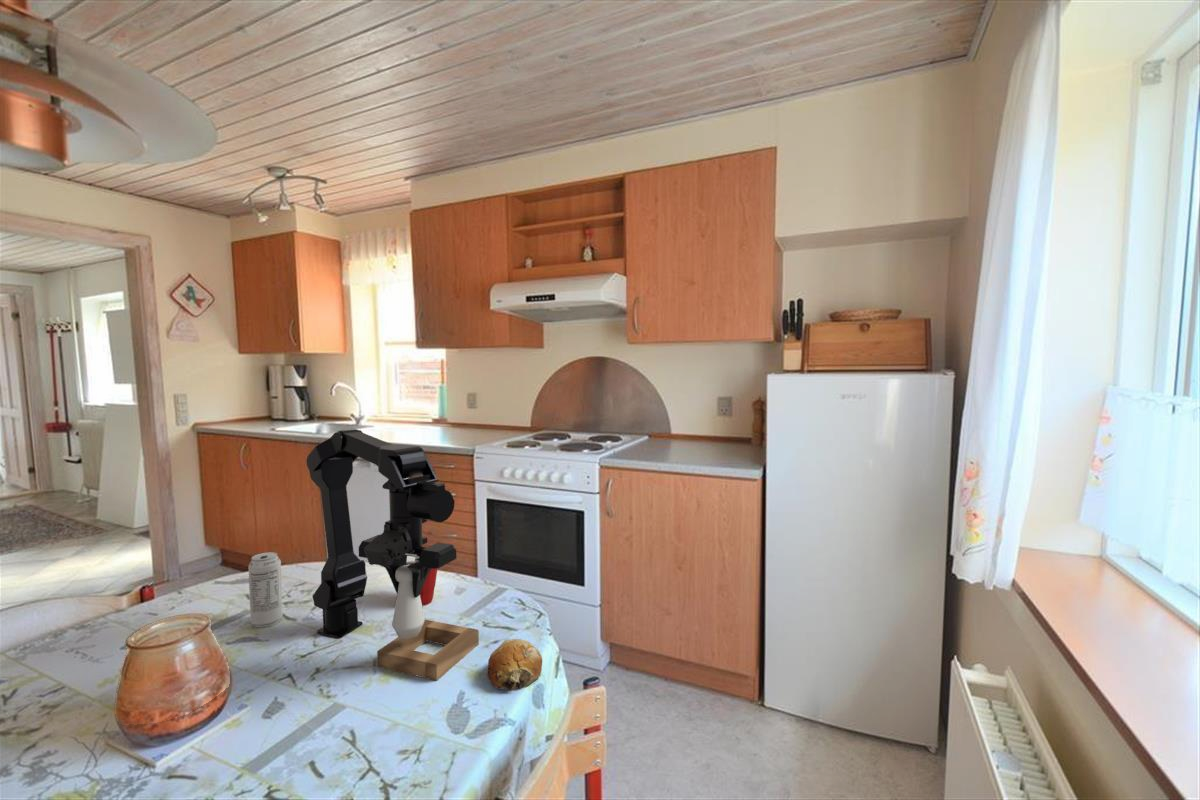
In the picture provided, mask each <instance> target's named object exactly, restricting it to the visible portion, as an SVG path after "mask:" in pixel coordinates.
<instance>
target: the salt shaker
mask: <svg viewBox="0 0 1200 800" xmlns="http://www.w3.org/2000/svg"><path fill="white" fill-rule="evenodd" d="M409 565H411V564H408V565H403V566H400V567H399V568H398V569H397V570H396V573H395V578H396V580H397V581H398V582H399V586H398V593H396V594H397V595H396V600H395V606H394V612H393V617H392V622H391V623H392V624H391V626H392V629H393V630H394V632H395V634H396V635H397V637H399V638H402V639H409V638H413V637H416V636H418V634H419V633H420V631H421V629H422V626H423V624H424V620H426V619H425V618H426V617H425V613H424V608H423V606H422V603H421V598H420V595H419V596H418V597H414V594H413V580H412V571H411V570H410V569H409V568H408V567H407V566H409Z"/></svg>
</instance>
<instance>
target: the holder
mask: <svg viewBox="0 0 1200 800" xmlns="http://www.w3.org/2000/svg"><path fill="white" fill-rule="evenodd" d="M479 634H480V633H479V629H477V628H471V627H467V626H466V627H465V626H461V625H457V624H451V623H445V622H440V621H434V620H429V619H425V620H424V624H423V626H422V629H421V631H420V633H419V634H418V636H416V637H413V638H409V639H402V638H399V637H398V636H397V637H396V638H394V639H393V640H392V641H390V642H389V643H387V644H386V645H384V646H383V647H381V648H379V649H378V650H377V651H376V653H377V656H376V657H377V659H376V660H377V661H376V662H377V668H382V669H386V670H390V671H393V672H398V673H403V674H408V675H411V674H412V676H415V675H418V676H417V677H419V676H421V677H420V678H423V677H424V679H427V678H429V679H428V680H432V679H433V680H432V681H436V680H437V681H439V680H440V679H441V678H442V677H443V676H444V675H445V674H447V672H449V671H450V670H451V669H452V668H454V667H455V666H456V665H457V664H458V663H459V662H461V660H462V659H464V658H465V657H466V656H467V655H468V654H469V653H471V651H473V650H474V649H475V648H476V647H477V646H478V645H479V643H480V641H479V640H480V639H479V638H480V637H479ZM426 642H430V643H431V642H432V643H434V642H435V643H436V644H440V645H444V646H443V647H442V648H441V649H440V650H438V651H437V652H435V653H434V654H432V653H427V652H424V651H423V652H422V651H419V650H416V649H418V648H419V647H421V646H423V644H424V643H426ZM439 678H440V679H439Z"/></svg>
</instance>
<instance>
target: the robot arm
mask: <svg viewBox="0 0 1200 800" xmlns="http://www.w3.org/2000/svg"><path fill="white" fill-rule="evenodd" d="M358 458H360V459H363V460H365V461H366V462H368V463H371V464H373V465H375V466H376V467H377V469H378V472H379V474H381V475H382V476H383V477H385V478H386V479H387V481H385V483H384V482H383V483H384V484H382V489H384V490H388V493H389V494H388V495H389V497H388V499H389V520H386V521H384V524H383V532H382V533H380V534H377V535H375V536H372V537H369V538H366V539H364V540H362V541H361V542H360V544H359V546H358V556H357V554H355V552H354V544H353V535H352V527H351V526H352V525H351V517H350V516H351V515H350V509H349V508H350V507H349V498H348V490H347V489H348V488H347V485H348V483H349V481H350V479H351V477H352V475H353V472H354V462H355V461H356V460H357V459H358ZM306 467H307V468H308V471H309V477H310V479H311V481H312V482H313V483H314V484H315V485H316V487H318V488H319V490H320V495H321V503H322V504H321V506H322V513H323V524H324V531H325V533H324V534H325V541H326V548H327V559H326V561H325V563H324V566H323V567H322V570H321V571H320V574H321V575H320V584H319V586H318V588H317V589H316V590H315V592H314V593H313V594H312V601H313V605H314V606H315V607H316V608H319V609H320V610H322V624H323V625H322V626H323V627H321V628H319V629H317V631H316V632H317V634H319V635H324V636H327V637H334V638H338V639H340V638H342V637H344V636H345V635H347V634H349V633H351V632H352V631H354V630H357V628H359V627H361V626H362V625H363V624H364V623H363V621H359V618H358V617H359V615H358V613H359V612H358V610H359V609H358V607H357V599H359V598H363V597H364V596H365V591H366V586H367V581H368V576H367V570H366V562H365V560H364V559H362V560H361V559H360V558H365V559H367V562H368V564H369V565H371V566H374V565H376V566H380V567H382V568H385V570H386V572H387V574H388V576H389V578H390V581H391V583H392V586H393V588H394V591H395V593H396V594H397V593H398V586H399V582H398V581H397V580H396V578H395V573H396V570H397V569H398V568H399V567H400V566H403V565H406V562H407V556H412V557H415V563H413V564H411V565H409V566H407V567H408V568H409V569H410V570H411V571H412V580H413V594H414V597H418V596H419V595H420V593H421V591H422V588H423V586H424V584H425V581H426V579H427V577H428V574H429V572H430V571H431V569H432V568H433V569H436V568H437V569H440V568H441V567H444V566H445V565H448V564H449V563H452V562H453V561H455V560H457V547H456V546H455V545H454V544H453V543H444V542H436V543H434V544H432V545H430V546H427V547H425V546H424V545H426V544H427V543H428V537H426V536H424V535H423V534H424V533H423V524H424V523H427V521H431V522H435V523H443V522H445V521H447V520H448V519H449V518H450V517H451V516H452V514H453V512H454V509H455V499H454V497H453V495H452V493H451V491H449V490H448V489H447V490H446V484H445V482H438V481H439V479H438V477H437V475H436V474H437V472H436V471H435V469H434V467H433V466H432V464H431V462H430V460H429V459H428V456H427V454H426V453H425V450H424V449H423V448H422V447H421V446H418V445H411V444H410V445H409V444H392V443H389V442H387V441H385V440H383V439H380V438H378V437H374V436H372V435H369V434H366V433H365V432H363V431H362V430H361V429H356V428H354V429H353V428H352V429H344V430H343V429H342V430H338V431H336V432H334V433H333V434H332V435H331V436H330V438H328V439H326V440H324V441H323V442H321V443H319V444H317V445H315V447H314V448H313V449H312V450H311V451H310V453H309V454H308V455H307V457H306Z"/></svg>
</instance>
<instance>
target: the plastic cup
mask: <svg viewBox="0 0 1200 800" xmlns="http://www.w3.org/2000/svg"><path fill="white" fill-rule="evenodd" d="M413 563H415V557H412V556H407V562H406V565H408V564H413ZM437 573H438V568H436V569H433V568H432V569H431V571H430V572H429V574H428V577H427V579H426V581H425V584H424V586H423V588H422V591H421V593H420V598H421V603H422V607H424V606H427V605H429V604H430V603H432V602H433V599H434V595H435V594H434V593H435V587H436V583H437V582H436V581H437Z"/></svg>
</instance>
